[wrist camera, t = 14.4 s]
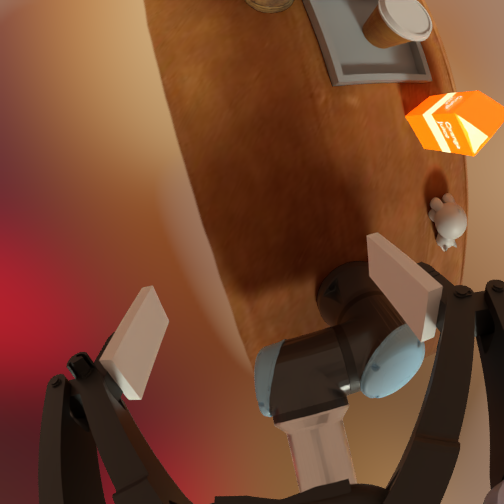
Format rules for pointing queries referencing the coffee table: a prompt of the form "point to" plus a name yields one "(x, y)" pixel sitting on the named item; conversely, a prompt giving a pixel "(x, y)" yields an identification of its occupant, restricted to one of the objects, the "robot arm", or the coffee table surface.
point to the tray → (361, 46)
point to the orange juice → (456, 121)
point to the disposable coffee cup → (397, 23)
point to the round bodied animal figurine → (447, 220)
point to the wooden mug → (269, 5)
